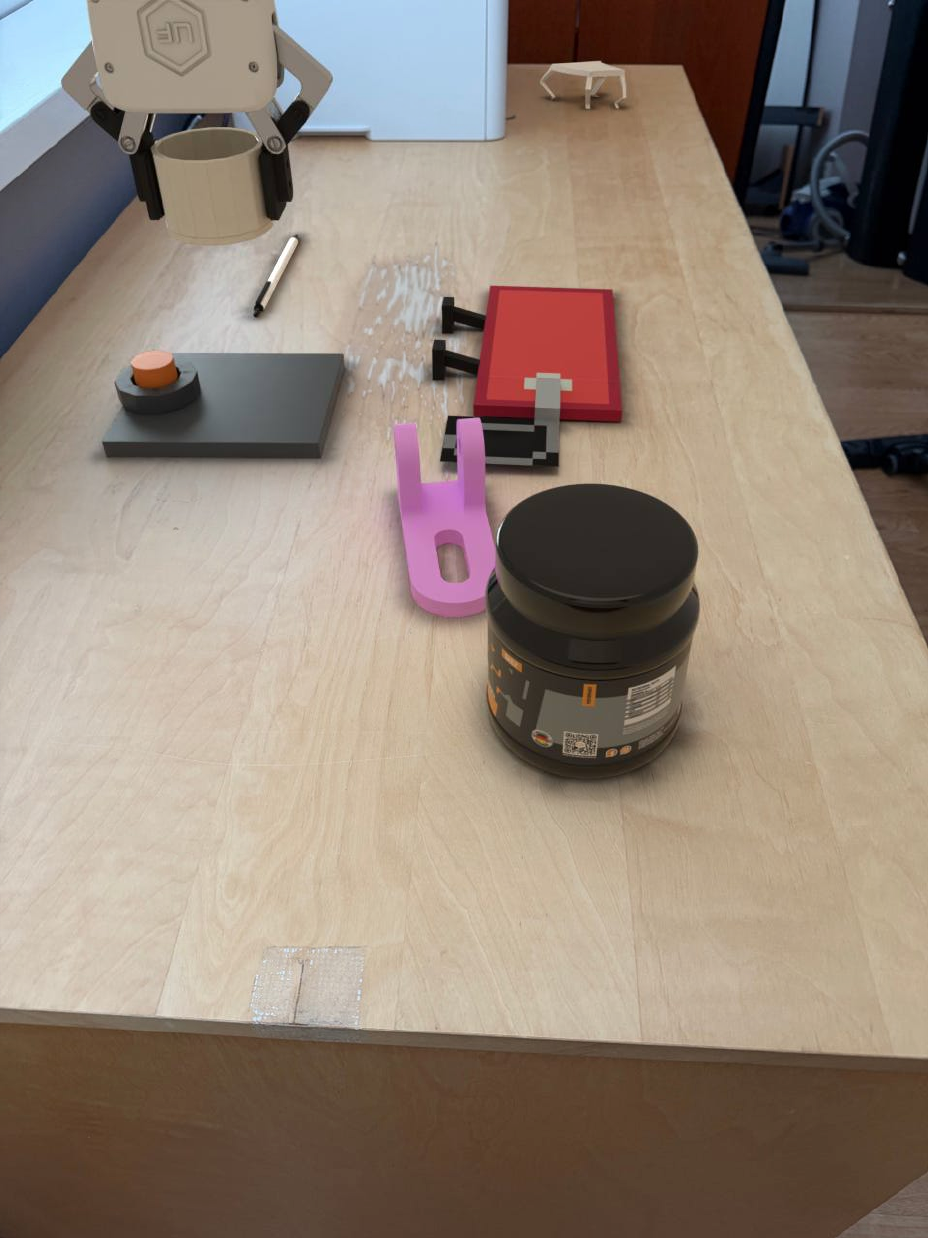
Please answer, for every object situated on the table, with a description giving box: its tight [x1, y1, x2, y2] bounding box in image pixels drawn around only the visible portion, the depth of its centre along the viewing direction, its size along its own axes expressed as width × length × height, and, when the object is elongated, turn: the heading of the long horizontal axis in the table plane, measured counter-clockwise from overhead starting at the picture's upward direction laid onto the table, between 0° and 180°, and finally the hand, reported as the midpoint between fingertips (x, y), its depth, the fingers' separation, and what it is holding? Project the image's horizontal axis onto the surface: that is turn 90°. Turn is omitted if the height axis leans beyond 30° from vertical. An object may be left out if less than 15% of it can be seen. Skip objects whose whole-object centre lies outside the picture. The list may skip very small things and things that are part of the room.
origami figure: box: [539, 60, 627, 110], centre depth 142 cm, size 12×8×5 cm
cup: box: [151, 126, 276, 247], centre depth 65 cm, size 7×7×5 cm
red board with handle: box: [431, 285, 623, 467], centre depth 84 cm, size 30×3×15 cm
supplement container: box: [484, 482, 701, 779], centre depth 53 cm, size 10×10×12 cm
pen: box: [252, 234, 299, 318], centre depth 101 cm, size 1×19×1 cm, turn 175°
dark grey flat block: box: [101, 352, 346, 460], centre depth 81 cm, size 16×14×3 cm
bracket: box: [393, 418, 495, 618], centre depth 65 cm, size 13×6×7 cm, turn 7°
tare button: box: [130, 349, 178, 388], centre depth 80 cm, size 3×3×2 cm
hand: (219, 210), depth 66 cm, fingers closed on cup, 6 cm apart
